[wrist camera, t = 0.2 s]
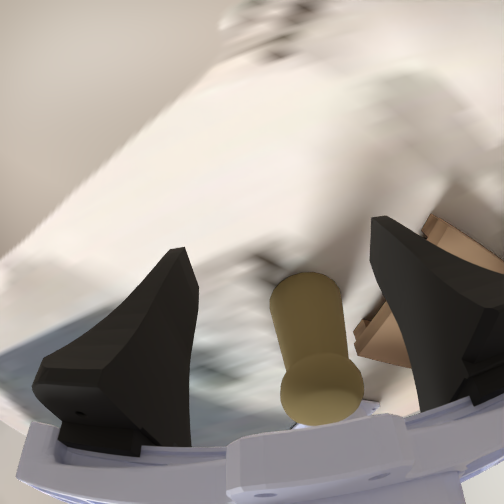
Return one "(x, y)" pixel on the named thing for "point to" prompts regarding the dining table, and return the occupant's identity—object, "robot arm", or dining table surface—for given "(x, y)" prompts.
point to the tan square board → (384, 324)
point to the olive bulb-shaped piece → (314, 351)
